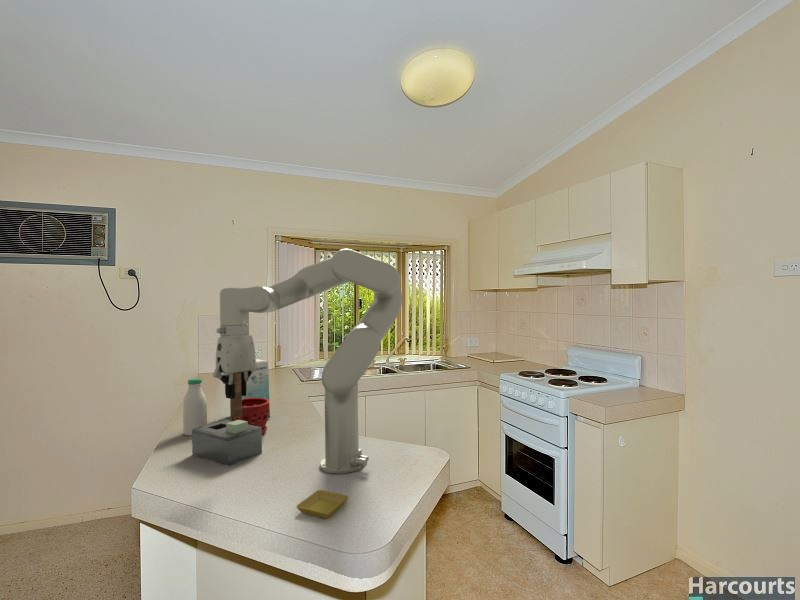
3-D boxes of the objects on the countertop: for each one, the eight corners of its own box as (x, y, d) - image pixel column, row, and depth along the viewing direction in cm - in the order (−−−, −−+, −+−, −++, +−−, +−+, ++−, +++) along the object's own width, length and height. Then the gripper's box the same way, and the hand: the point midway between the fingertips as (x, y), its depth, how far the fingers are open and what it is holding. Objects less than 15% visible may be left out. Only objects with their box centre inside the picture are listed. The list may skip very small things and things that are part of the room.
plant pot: (223, 439, 138) (223, 404, 138) (246, 428, 151) (246, 396, 151) (255, 441, 135) (255, 406, 135) (276, 429, 147) (276, 397, 148)
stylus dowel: (244, 415, 110) (243, 366, 111) (234, 418, 108) (234, 367, 108) (237, 414, 112) (236, 365, 112) (228, 417, 110) (227, 367, 110)
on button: (247, 437, 122) (247, 421, 122) (235, 442, 118) (235, 425, 118) (238, 435, 124) (238, 419, 124) (226, 439, 120) (226, 423, 120)
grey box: (261, 452, 124) (261, 427, 124) (227, 466, 114) (227, 438, 114) (226, 443, 133) (226, 419, 133) (192, 454, 123) (192, 429, 123)
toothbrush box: (230, 415, 169) (229, 359, 170) (254, 411, 176) (253, 357, 177) (245, 424, 156) (244, 363, 156) (270, 418, 163) (269, 360, 163)
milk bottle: (205, 434, 143) (205, 379, 144) (181, 437, 140) (181, 381, 141) (207, 428, 150) (207, 376, 151) (184, 431, 148) (184, 378, 148)
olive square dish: (327, 524, 83) (327, 513, 83) (295, 515, 86) (295, 506, 86) (349, 504, 90) (349, 495, 90) (318, 497, 94) (318, 489, 94)
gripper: (215, 333, 102) (217, 404, 101) (267, 329, 115) (268, 392, 115) (199, 333, 106) (200, 401, 105) (251, 329, 119) (252, 390, 119)
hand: (236, 396), depth 110 cm, fingers closed on stylus dowel, 3 cm apart
